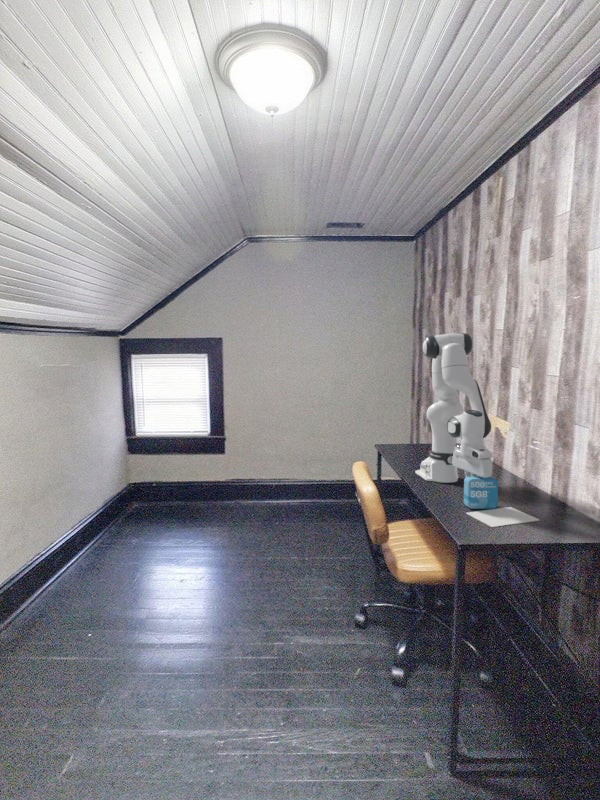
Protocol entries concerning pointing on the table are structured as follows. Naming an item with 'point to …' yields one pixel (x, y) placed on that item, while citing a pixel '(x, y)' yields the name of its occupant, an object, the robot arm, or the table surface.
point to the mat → (502, 517)
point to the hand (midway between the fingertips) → (470, 482)
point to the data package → (480, 492)
